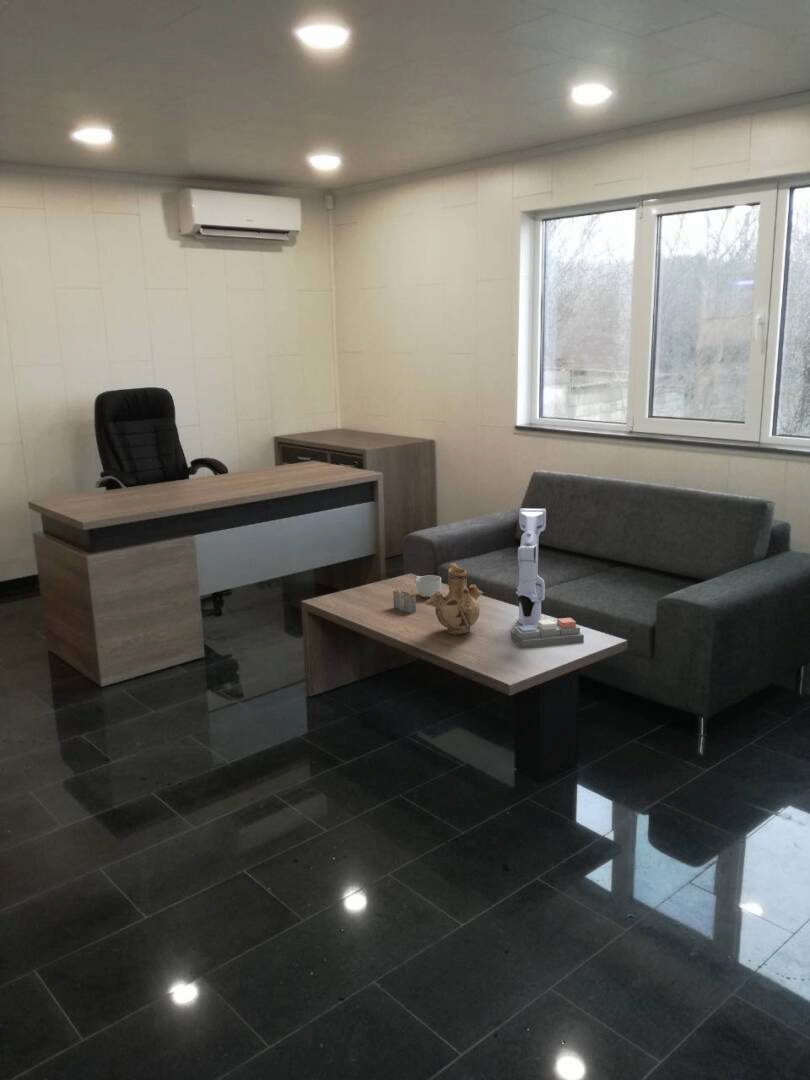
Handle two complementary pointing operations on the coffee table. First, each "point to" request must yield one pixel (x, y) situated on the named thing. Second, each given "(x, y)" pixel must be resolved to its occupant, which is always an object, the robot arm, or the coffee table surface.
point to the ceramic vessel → (457, 602)
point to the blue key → (526, 628)
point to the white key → (546, 624)
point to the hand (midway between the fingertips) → (527, 616)
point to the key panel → (547, 636)
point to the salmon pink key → (566, 623)
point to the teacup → (428, 585)
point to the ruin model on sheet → (405, 601)
